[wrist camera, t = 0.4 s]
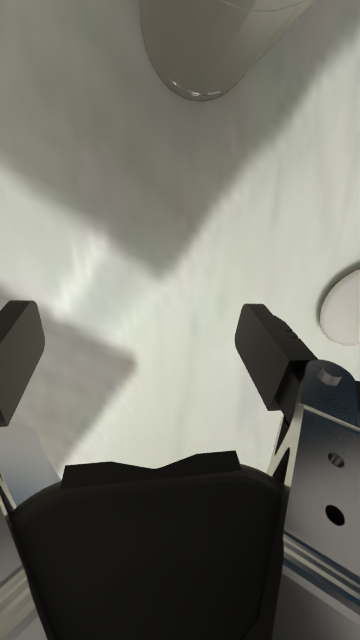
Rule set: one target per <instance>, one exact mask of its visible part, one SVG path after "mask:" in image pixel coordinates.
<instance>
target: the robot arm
mask: <svg viewBox="0 0 360 640" xmlns="http://www.w3.org/2000/svg"><path fill="white" fill-rule="evenodd" d="M313 2H314V0H140V5H141V18H142V31H143V36H144V41H145V46H146V50H147V52H148V55H149V58H150V60H151V63H152V65H153V67H154V69H155V70H156V72H157V74H158V75H159V77H160V78H161V79H162V81H163V82H164V83H165V84H166V85H167V86H168V87H169V88H170V89H171V90H173V91H174V92H175V93H177V94H178V95H180V96H182V97H185V98H187V99H190V100H197V101H204V100H211V99H214V98H216V97H218V96H221V95H223V94H224V93H225V92H227V91H228V90H229V89H231V88H232V87H233V86H234V85H235V84H236V83H237V82H238V81H239V80H240V79H241V78H242V77H243V75H244V74H245V73H246V72H248V70H249V69H250V68H251V67H252V66H253V65H254V64H255V63H256V62H257V61H258V60H259V59H260V58H261V57H262V56H263V55H264V54H265V52H266V51H267V50H268V49H269V48H270V47H271V46H272V45H273V44H274V43H275V42H276V41H277V40H278V39H279V38H280V37H281V36H282V34H283V33H284V32H285V31H286V30H287V29H288V28H289V27H290V26H291V25H292V24H293V23H294V22H295V21H296V20H297V19H298V17H299V16H300V15H301V14H302V13H303V12H304V11H305V10H306V9H307V8H308V7H309V6H310V5H311V4H312V3H313ZM44 346H45V337H44V332H43V328H42V324H41V319H40V315H39V311H38V307H37V304H36V302H35V301H20V300H11V301H9V302H8V303H7V304H6V305H5V306H4V307H3V308H2V310H1V311H0V427H4V426H8V425H9V422H10V420H11V418H12V416H13V414H14V412H15V410H16V408H17V406H18V404H19V401H20V399H21V397H22V395H23V393H24V391H25V389H26V387H27V385H28V383H29V380H30V378H31V376H32V374H33V372H34V370H35V368H36V366H37V364H38V362H39V359H40V357H41V355H42V353H43V351H44ZM235 346H236V349H237V351H238V353H239V355H240V357H241V359H242V361H243V363H244V365H245V367H246V369H247V370H248V372H249V374H250V376H251V378H252V380H253V382H254V384H255V386H256V388H257V390H258V392H259V394H260V396H261V398H262V400H263V402H264V404H265V406H266V408H267V410H268V411H277V410H281V411H282V413H283V417H282V419H281V421H280V425H279V429H278V433H277V437H276V441H275V445H274V449H273V453H272V457H271V461H270V464H269V467H268V470H267V473H264V472H262V471H260V470H258V469H256V468H253V467H250V466H247V465H243V464H240V463H239V460H238V457H237V454H236V451H224V452H213V453H202V454H195V455H193V456H190V457H187V458H185V459H182V460H180V461H177V462H174V463H172V464H169V465H166V466H164V467H161V468H158V469H150V468H145V467H139V466H133V465H128V464H122V463H116V462H100V463H89V464H77V465H66V466H65V469H64V473H63V478H62V481H60V482H57V483H55V484H53V485H51V486H49V487H46V488H44V489H43V490H41V491H39V492H37V493H36V494H34V495H33V496H31V497H29V498H28V499H27V500H25V501H24V502H23V503H21V504H20V505H19V506H17V507H16V505H15V503H14V501H13V499H12V497H11V495H10V493H9V490H8V488H7V486H6V483H5V481H4V478H3V476H2V474H1V471H0V640H360V381H355V379H354V378H353V376H352V375H351V374H350V373H349V372H348V371H347V370H345V369H344V368H343V367H341V366H339V365H337V364H335V363H333V362H330V361H326V360H318V359H317V357H316V356H315V355H314V354H313V353H312V352H311V351H310V350H309V348H308V347H307V346H306V345H305V344H304V343H303V342H302V341H301V339H300V338H298V336H297V335H296V334H295V333H294V332H292V329H291V328H290V327H289V326H288V325H287V324H286V322H284V321H283V320H281V319H279V318H278V317H276V316H273V315H272V313H271V312H270V311H269V310H268V309H267V307H266V306H265V305H264V304H244V305H243V307H242V310H241V314H240V318H239V321H238V325H237V329H236V333H235Z"/></svg>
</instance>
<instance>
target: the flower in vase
mask: <svg viewBox="0 0 360 640" xmlns="http://www.w3.org/2000/svg"><path fill="white" fill-rule="evenodd" d="M320 326H321V329H322V331H323V333H324V335H325V336H326V337H327V338H328V339H330V340H331V341H333V342H336V343H339V344H342V345H348V346H355V345H360V269H359V270H356V271H354V272H352V273H351V274H349V275H347V276H346V277H345V278H343V279H342V280H341V281H340V282H338V283H337V284H336V285H335V286H334V287H333V288H332V290H331V291H330V292H329V294H328V295H327V297H326V298H325V301H324V303H323V305H322V308H321V313H320Z"/></svg>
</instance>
